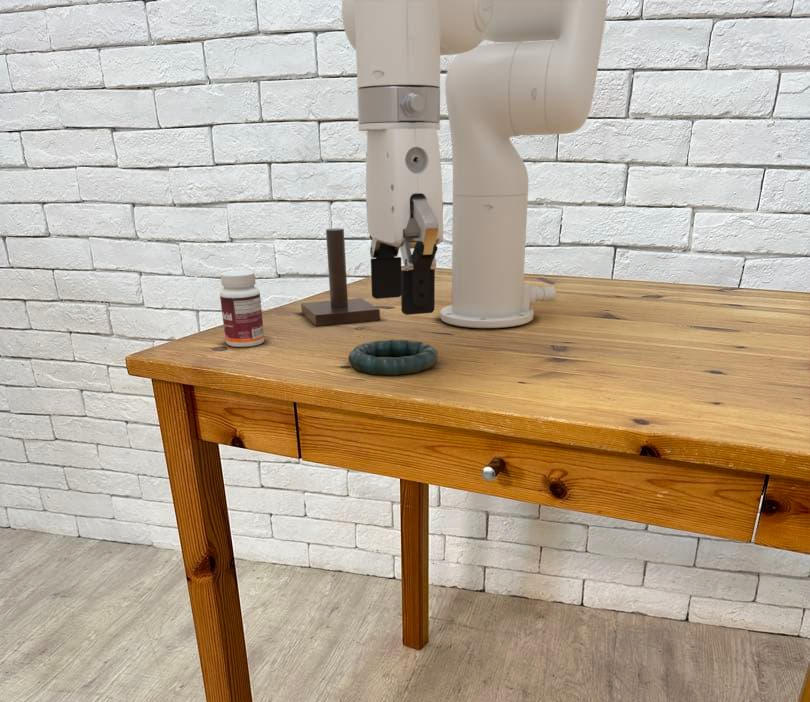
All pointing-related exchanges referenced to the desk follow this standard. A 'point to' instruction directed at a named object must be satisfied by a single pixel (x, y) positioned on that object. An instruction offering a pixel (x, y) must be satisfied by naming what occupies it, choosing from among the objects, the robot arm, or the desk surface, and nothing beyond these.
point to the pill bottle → (241, 309)
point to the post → (338, 291)
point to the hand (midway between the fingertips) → (401, 304)
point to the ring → (375, 361)
